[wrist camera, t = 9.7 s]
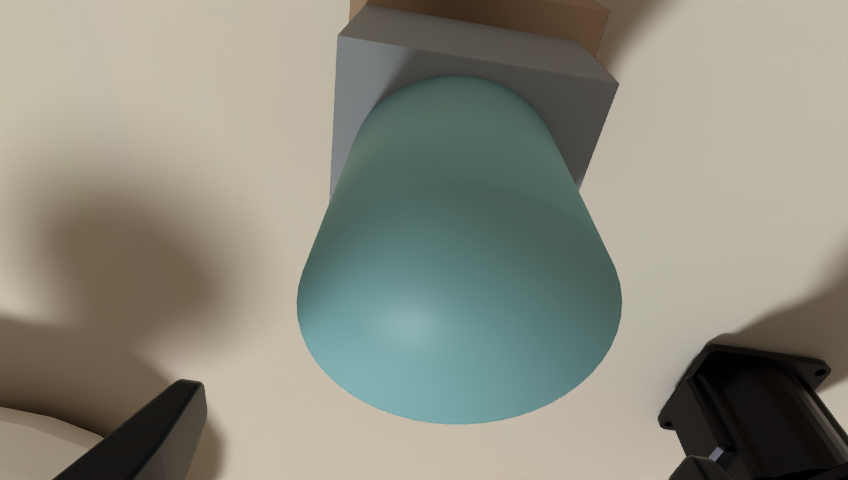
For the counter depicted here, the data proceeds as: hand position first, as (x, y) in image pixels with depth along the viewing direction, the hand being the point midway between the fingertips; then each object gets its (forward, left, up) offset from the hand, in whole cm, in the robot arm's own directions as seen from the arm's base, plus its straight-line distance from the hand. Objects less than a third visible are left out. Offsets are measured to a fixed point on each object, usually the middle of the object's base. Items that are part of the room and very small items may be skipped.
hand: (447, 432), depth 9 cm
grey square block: (0, -2, -9) cm, 9 cm away
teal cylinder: (0, -3, -5) cm, 6 cm away
